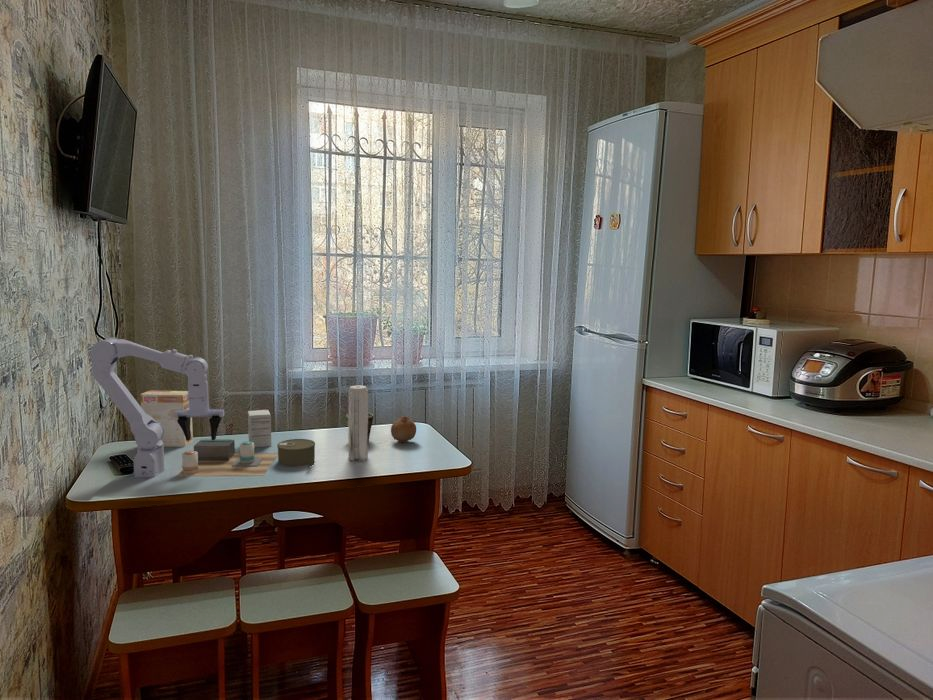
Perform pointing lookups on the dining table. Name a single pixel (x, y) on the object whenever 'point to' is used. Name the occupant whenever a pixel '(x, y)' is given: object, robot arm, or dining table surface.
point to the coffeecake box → (167, 414)
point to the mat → (255, 463)
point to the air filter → (358, 422)
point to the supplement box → (259, 428)
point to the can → (296, 452)
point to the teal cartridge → (246, 452)
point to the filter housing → (215, 449)
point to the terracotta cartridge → (190, 462)
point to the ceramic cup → (370, 420)
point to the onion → (403, 429)
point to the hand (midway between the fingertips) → (201, 439)
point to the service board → (234, 467)
